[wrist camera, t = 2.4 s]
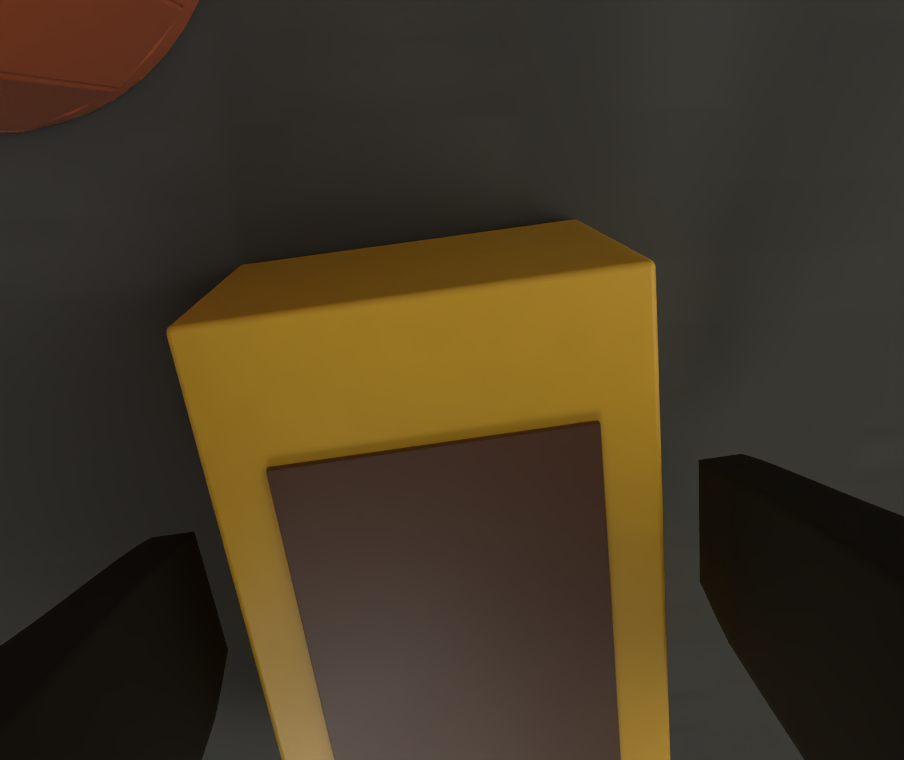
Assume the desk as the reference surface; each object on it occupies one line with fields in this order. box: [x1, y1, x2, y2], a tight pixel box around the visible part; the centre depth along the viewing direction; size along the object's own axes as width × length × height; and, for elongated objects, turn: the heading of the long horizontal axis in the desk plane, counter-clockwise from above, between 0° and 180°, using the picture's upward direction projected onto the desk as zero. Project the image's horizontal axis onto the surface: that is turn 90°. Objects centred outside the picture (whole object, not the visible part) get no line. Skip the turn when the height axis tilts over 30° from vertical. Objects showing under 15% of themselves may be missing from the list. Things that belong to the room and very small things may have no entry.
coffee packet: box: [166, 219, 670, 760], centre depth 10 cm, size 8×5×4 cm, turn 7°
